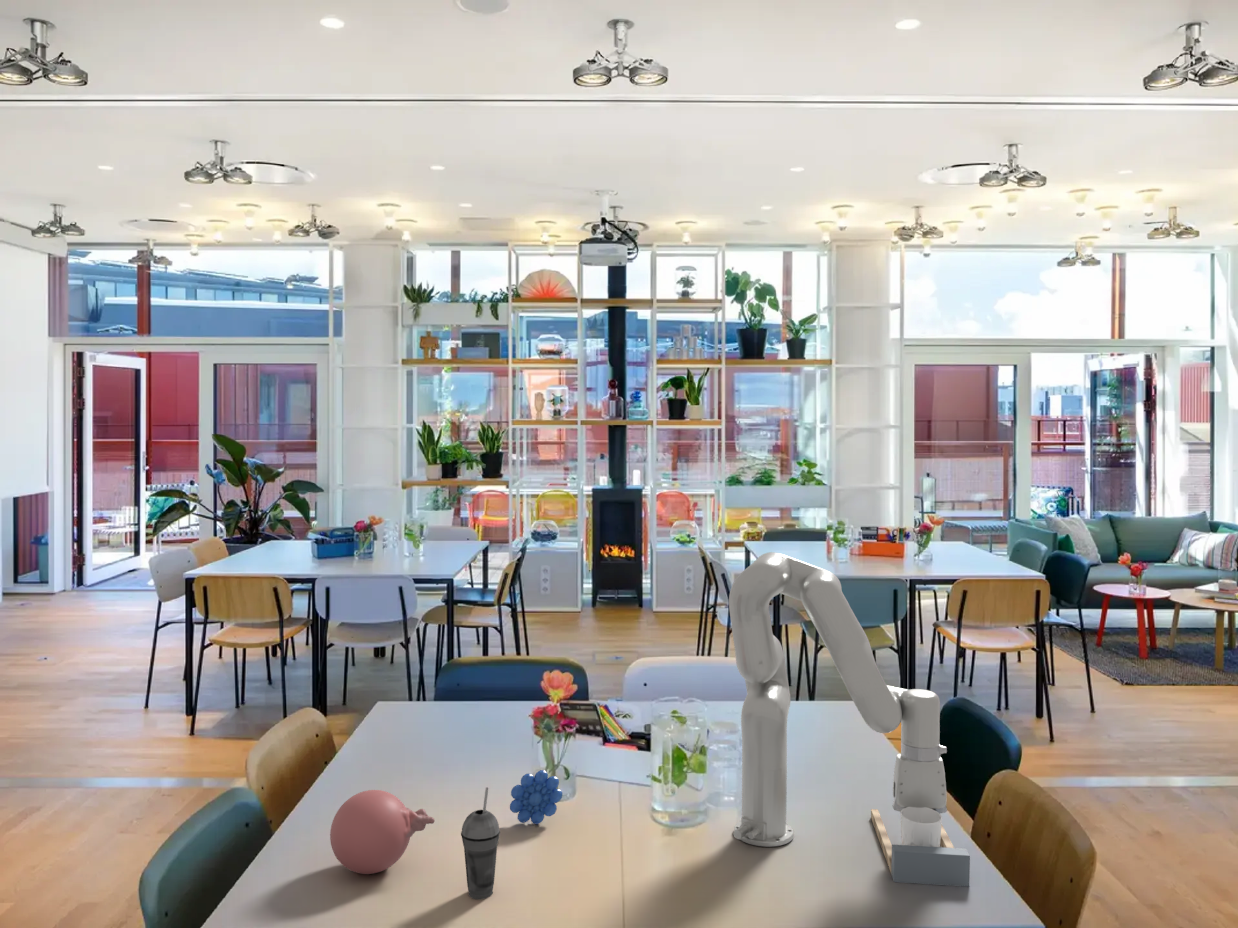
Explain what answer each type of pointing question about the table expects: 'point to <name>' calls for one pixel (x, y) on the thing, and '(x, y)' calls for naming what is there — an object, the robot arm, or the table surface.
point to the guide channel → (885, 839)
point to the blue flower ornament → (535, 797)
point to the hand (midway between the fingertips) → (919, 838)
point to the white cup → (920, 827)
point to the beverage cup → (480, 851)
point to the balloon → (374, 831)
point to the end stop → (930, 865)
